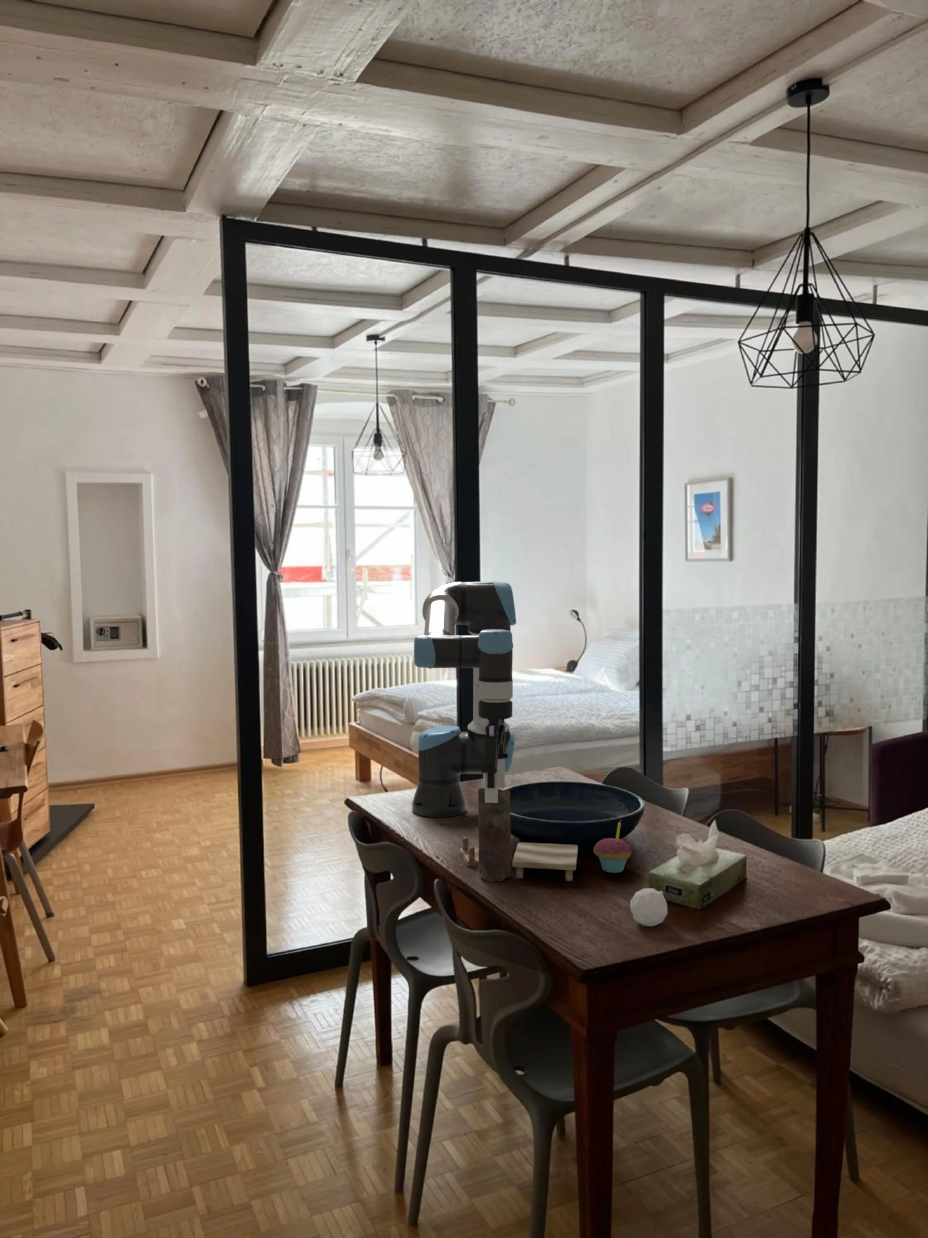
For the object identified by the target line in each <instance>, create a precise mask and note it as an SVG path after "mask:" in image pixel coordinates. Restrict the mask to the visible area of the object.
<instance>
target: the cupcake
mask: <svg viewBox="0 0 928 1238" xmlns="http://www.w3.org/2000/svg"><path fill="white" fill-rule="evenodd" d="M621 821H622V819H620V820H619V822H617V828H616V834H615V838H613V837H606V838H602V839H600V840H598V842H596V843H595V845H594V848H593V854H594V855H595V856H597V857H598V859H599V863H600V864H601V868H602V869H601V870H603V871H605V872H606V873H611V874H612V873H613V874H615V873H617V874H618V873H622V872H623V871H624V869H625V865H626V863H627V860H628V858H630V857H631V855H632V852H633V850H632V848H631V846H630V844H629V843H627V841H625V840H623V839H621V838H620V832H621V831H620V830H621V827H622V823H621Z"/></svg>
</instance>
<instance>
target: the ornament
mask: <svg viewBox="0 0 928 1238" xmlns="http://www.w3.org/2000/svg"><path fill="white" fill-rule="evenodd" d="M667 903H668V902H667V901H666V899H665V896H664V892H663V891H662V890H660V891H658V890H657V889H655V888H649V887H647V888H641V889H640V890H638V891H636V892H635V894H634V895H633V896H632V898H631V899H630V907H629V908H630V911H631V914H632V916H633V919H634V920H635V921H636V922H637V923H639V924H640V925H642V926H643V927H655V926H657V925H659V924H661V923H663V922H664V920H665V918H666V917H667V915H668V904H667Z"/></svg>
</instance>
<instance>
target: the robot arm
mask: <svg viewBox="0 0 928 1238" xmlns="http://www.w3.org/2000/svg"><path fill="white" fill-rule="evenodd" d="M421 613H422V617H423V619H424V630H423V635H417V636H415V637H414V640H413V662H414V665H415V667H416V668H422V669H423V668H425V669H428V670H429V669H473V674H472V675H473V678H472V679H473V683H472V684H473V690H472V691H473V693H472V694H473V696H472V697H473V699H472V700H473V705H472V706H473V707H472V711H473V712H472V713H473V715H472V717H473V719H472V721H471V722H469V723H468V725H467V731H461V729H460V726H457V725H441V726H434V727H430V728H428V729H424V730H423V731H421V733H419V736H418V745H417V751H418V768H417V769H418V772H417V773H418V778H417V779H418V783H417V786H416V790H415V792H414V797H413V799H412V801H411V806H412V807H411V809H412V812H413V813H414V814H415V815H419V816H421V817H428V818H449V817H455V816H459V815H462V814H464V813H465V812H466V811H467V801H466V798H465V795H464V791H463V788H462V785H461V780H460V779H461V778H460V777H461V775H464V774H467V775H478V774H480V775H482V774H484V788H485V802H486V803H498V789H501V788H502V789H505V788H506V786H505V785H506V779H505V777H506V773H507V772H509V771H510V769H511V766H512V765H513V764H512V762H513V758H514V751H515V750H514V749H515V733H514V732H513V731H511V730H510V725H509V724H508V723H507V722H506V721H505V720H509V719H510V718H512V717H513V701H512V698H513V696H514V695H513V694H514V690H513V688H514V686H513V685H514V684H513V681H514V680H513V661H514V660H513V658H514V657H513V650H514V641H513V632H512V631H511V628H512V627H511V626H515V625H516V624H517V619H516V617H517V615H516V606H515V600H514V593H513V587H512V585H510V584H509V583H508V582H502V581H453V582H448V583H446V584H443V585H440V586H439V587H437V588H436V589H433V591H432V592H430V593H429V594H428V595H427V597H426V598H425V599H424V601H423V604H422V612H421ZM458 625H460V626H467V632H468V633H469V634H470V635H459V634H458V635H457V634H456V626H458Z"/></svg>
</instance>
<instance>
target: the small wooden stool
mask: <svg viewBox="0 0 928 1238" xmlns="http://www.w3.org/2000/svg"><path fill="white" fill-rule="evenodd" d="M578 853H579V846H578V845H577V844H560V843H543V842H542V843H539V842H523V841H522V842H521V841H519V842H518V843H517V845H516V849H515V852H514V856H513V858H512V860H511V868H515V879H523V878H524V869H525V868H527V869H546V870H547V869H548V870H562V871H565V872H564V873H565V881H566V882H572V881H573V879H574V878H573V877H574V875H573V873H574V871H576V870H577V869H576V868H577V862H578V861H577V860H578Z"/></svg>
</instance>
